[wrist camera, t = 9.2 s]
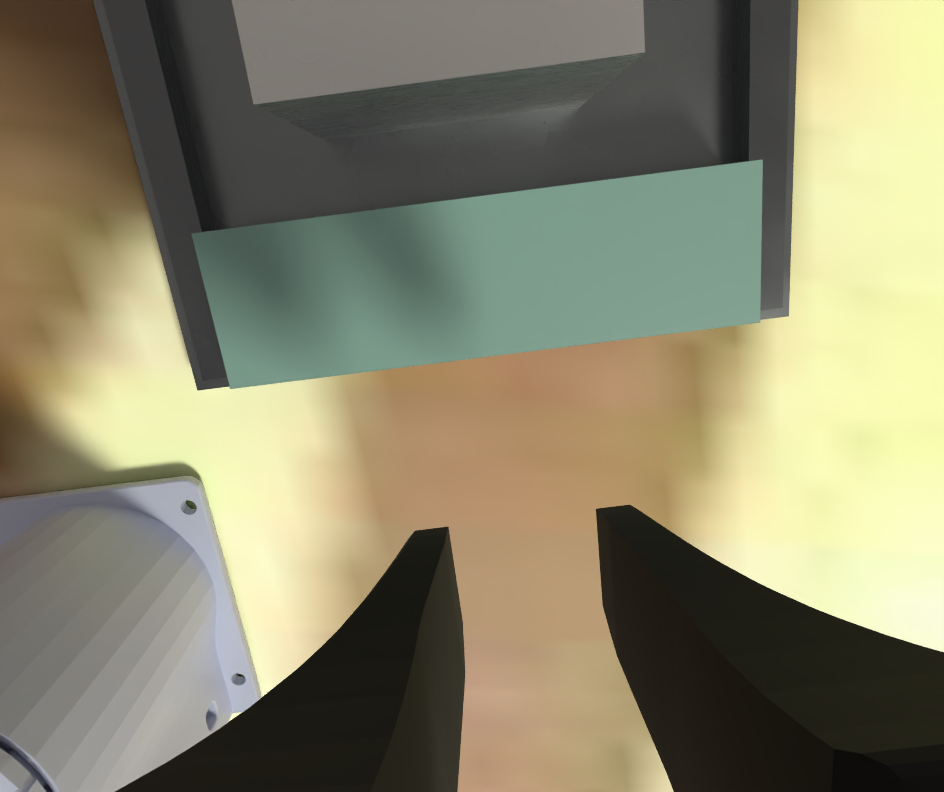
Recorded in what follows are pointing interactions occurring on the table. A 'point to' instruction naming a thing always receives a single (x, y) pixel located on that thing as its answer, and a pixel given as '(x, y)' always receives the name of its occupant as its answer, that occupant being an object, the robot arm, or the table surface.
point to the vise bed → (441, 135)
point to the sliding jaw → (486, 275)
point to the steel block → (430, 59)
